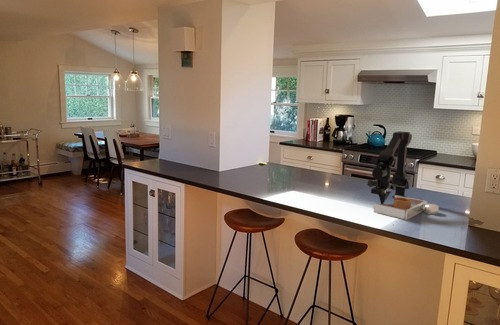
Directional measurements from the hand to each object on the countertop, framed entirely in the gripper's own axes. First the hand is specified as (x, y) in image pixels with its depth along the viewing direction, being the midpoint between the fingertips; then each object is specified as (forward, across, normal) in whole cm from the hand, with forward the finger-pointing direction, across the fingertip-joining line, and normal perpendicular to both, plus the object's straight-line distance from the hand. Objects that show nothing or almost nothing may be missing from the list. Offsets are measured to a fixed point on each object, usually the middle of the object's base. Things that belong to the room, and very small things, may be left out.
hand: (382, 204), depth 206 cm
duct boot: (+1, 0, +10) cm, 10 cm away
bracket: (+2, +5, +8) cm, 9 cm away
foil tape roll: (+1, -9, +23) cm, 24 cm away
